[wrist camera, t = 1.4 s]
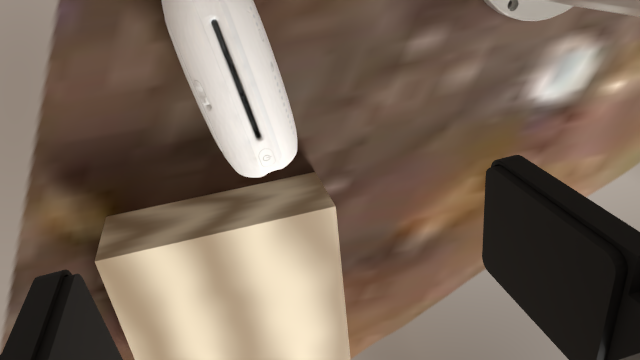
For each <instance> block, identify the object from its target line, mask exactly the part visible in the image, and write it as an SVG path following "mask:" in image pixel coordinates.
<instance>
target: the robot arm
mask: <svg viewBox="0 0 640 360" xmlns="http://www.w3.org/2000/svg"><path fill="white" fill-rule="evenodd" d="M484 1H485V3H486V4H487V5H489V6H490V7H491V8H492V9H494V10H495V11H496V12H498V13H500V14H502V15H505V16H507V17H509V18H514V19H518V20H522V21H539V20H544V19H549V18H552V17H554V16H557V15H559V14H562V13H564V12H565V11H567V10H569V9H570V8H572V7H573V6H577V7H583V8H589V9H595V10H601V11H607V12H613V13H619V14H625V15H631V16H637V17H640V0H484ZM482 259H483V263H484V266H485V267H486V269H487V270H488V272H489V273H490V274H491V275H492V276H493V277H494V278H495V279H496V281H497V282H498V283H499V284H500V285H501V286H502V287H503V288H504V289H505V290H506V292H507V293H508V294H509V295H510V296H511V297H512V298H513V299H514V300H515V301H516V302H517V303H518V305H519V306H520V307H521V308H522V309H523V310H524V311H525V312H526V313H527V314H528V316H529V317H530V318H531V319H532V320H533V321H534V322H535V323H536V324H537V325H538V326H539V327H540V329H541V330H542V331H543V332H544V333H545V334H546V335H547V336H548V337H549V338H550V339H551V341H552V342H553V343H554V344H555V345H556V346H557V347H558V348H559V349H560V350H561V352H562V353H563V354H564V355H565V356H566V357H567V358H568V359H569V360H640V232H639V231H637V230H636V229H634V228H633V227H631V226H629V225H628V224H626V223H625V222H623V221H621V220H620V219H618V218H617V217H615V216H614V215H612V214H611V213H609V212H608V211H606V210H605V209H603V208H602V207H600V206H598V205H597V204H595V203H594V202H592V201H591V200H589V199H588V198H586V197H584V196H583V195H581V194H580V193H578V192H577V191H575V190H574V189H572V188H570V187H569V186H567V185H566V184H564V183H563V182H561V181H560V180H558V179H556V178H555V177H553V176H552V175H550V174H549V173H547V172H546V171H544V170H542V169H541V168H539V167H538V166H536V165H535V164H533V163H532V162H530V161H528V160H527V159H525V158H524V157H522V156H520V155H514V156H510V157H506V158H502V159H498V160H495V161H494V162H493V163H492V165H491V168H489V169H487V171H486V183H485V206H484V229H483V251H482ZM0 360H123V359H122V357H121V355H120V353H119V351H118V349H117V347H116V345H115V343H114V341H113V339H112V337H111V335H110V333H109V331H108V329H107V327H106V325H105V323H104V321H103V319H102V316H101V314H100V312H99V310H98V308H97V306H96V304H95V302H94V300H93V298H92V296H91V294H90V292H89V290H88V288H87V286H86V284H85V282H84V280H83V278H82V277H81V275H80V274H74V275H72V274H71V273H70V272H69V271H68V270H62V271H58V272H54V273H50V274H46V275H43V276H39V277H36V278H35V279H34V281H33V283H32V285H31V288H30V290H29V292H28V294H27V297H26V299H25V301H24V304H23V306H22V308H21V311H20V313H19V315H18V317H17V320H16V322H15V324H14V327H13V329H12V331H11V334H10V336H9V338H8V341H7V343H6V345H5V347H4V350H3V352H2V354H1V355H0Z"/></svg>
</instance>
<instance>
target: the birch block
mask: <svg viewBox="0 0 640 360" xmlns="http://www.w3.org/2000/svg"><path fill="white" fill-rule="evenodd" d="M95 264H96V266H97V269H98V271H99V273H100V276H101V278H102V281H103V283H104V286H105V288H106V290H107V293H108V295H109V298H110V300H111V303H112V305H113V307H114V310H115V312H116V315H117V317H118V319H119V322H120V324H121V327H122V329H123V332H124V334H125V336H126V339H127V341H128V344H129V346H130V349H131V351H132V353H133V356H134V358H135V360H350V349H349V339H348V329H347V319H346V309H345V298H344V288H343V278H342V268H341V258H340V247H339V237H338V227H337V217H336V206H335V205H334V203H333V201H332V200H331V198H330V196H329V195H328V193H327V191H326V189H325V188H324V186H323V184H322V183H321V181H320V179H319V178H318V176H317V174H316V173H315V172H313V173H308V174H304V175H299V176H294V177H290V178H285V179H280V180H276V181H271V182H266V183H261V184H257V185H252V186H247V187H243V188H238V189H233V190H229V191H224V192H219V193H215V194H210V195H205V196H201V197H196V198H191V199H187V200H182V201H177V202H173V203H168V204H163V205H159V206H154V207H149V208H145V209H140V210H135V211H131V212H126V213H121V214H117V215H112V216H107V217H106V220H105V223H104V227H103V231H102V235H101V239H100V243H99V247H98V250H97V254H96V258H95Z"/></svg>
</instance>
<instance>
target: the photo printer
mask: <svg viewBox="0 0 640 360" xmlns="http://www.w3.org/2000/svg"><path fill="white" fill-rule="evenodd" d="M161 1H162V7H163V12H164V16H165V22H166V25H167V29H168V31H169V34H170V37H171V40H172V42H173V45H174V48H175V51H176V53H177V56H178V58H179V61H180V63H181V66H182V68H183V71H184V73H185V76H186V78H187V80H188V83H189V85H190V87H191V90H192V92H193V94H194V97H195V99H196V102H197V104H198V106H199V108H200V110H201V112H202V115H203V117H204V119H205V121H206V123H207V125H208V127H209V129H210V132H211V134H212V136H213V138H214V139H215V141H216V143H217V145H218V147H219V149H220V150H221V151H222V153H223V155H224V156H225V158H226V159H227V161H228V162H229V163H230V165H231V166H232V167H233V168H234V170H235V171H236V172H237V173H239V174H240V175H243V176H245V177H251V178H259V177H263V176H265V175H266V174H268V173H270V172H272V171H275V170H279V169H283V168H284V167H286V166H287V165H288V164H289V163H290V162H291V161H292V160H293V159H294V157H295V156H296V153H297V133H296V127H295V123H294V119H293V115H292V111H291V108H290V104H289V101H288V97H287V94H286V91H285V88H284V84H283V81H282V78H281V75H280V72H279V69H278V66H277V63H276V60H275V57H274V54H273V51H272V49H271V46H270V43H269V40H268V38H267V35H266V32H265V30H264V27H263V24H262V22H261V19H260V16H259V14H258V11H257V9H256V6H255V4H254V1H253V0H161Z"/></svg>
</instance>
